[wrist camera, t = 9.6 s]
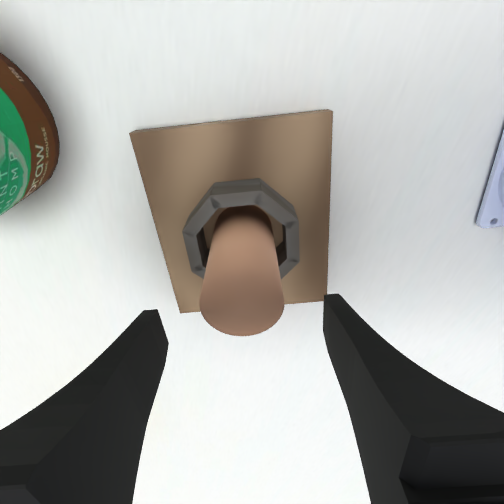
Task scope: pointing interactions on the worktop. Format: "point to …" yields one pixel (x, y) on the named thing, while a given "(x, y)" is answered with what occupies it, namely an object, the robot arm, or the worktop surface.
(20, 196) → the food container
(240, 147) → the holder
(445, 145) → the worktop surface
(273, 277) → the peg
